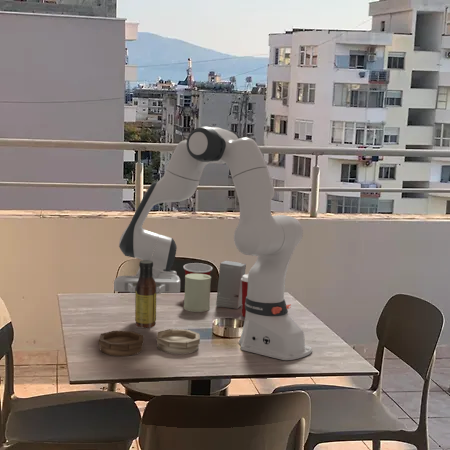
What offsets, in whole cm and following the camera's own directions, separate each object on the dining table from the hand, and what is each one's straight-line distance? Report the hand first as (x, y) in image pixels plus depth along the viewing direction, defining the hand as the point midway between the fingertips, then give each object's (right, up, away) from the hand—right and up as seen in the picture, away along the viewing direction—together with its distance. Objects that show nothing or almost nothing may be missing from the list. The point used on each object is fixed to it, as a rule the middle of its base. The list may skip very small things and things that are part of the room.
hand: (145, 290), depth 215 cm
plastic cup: (+13, -8, +54) cm, 56 cm away
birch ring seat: (+10, -16, -2) cm, 19 cm away
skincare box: (+25, -10, +45) cm, 53 cm away
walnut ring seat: (-6, -16, -7) cm, 19 cm away
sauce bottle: (0, -11, +3) cm, 11 cm away
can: (+14, -10, +40) cm, 43 cm away
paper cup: (+32, -12, +34) cm, 48 cm away
